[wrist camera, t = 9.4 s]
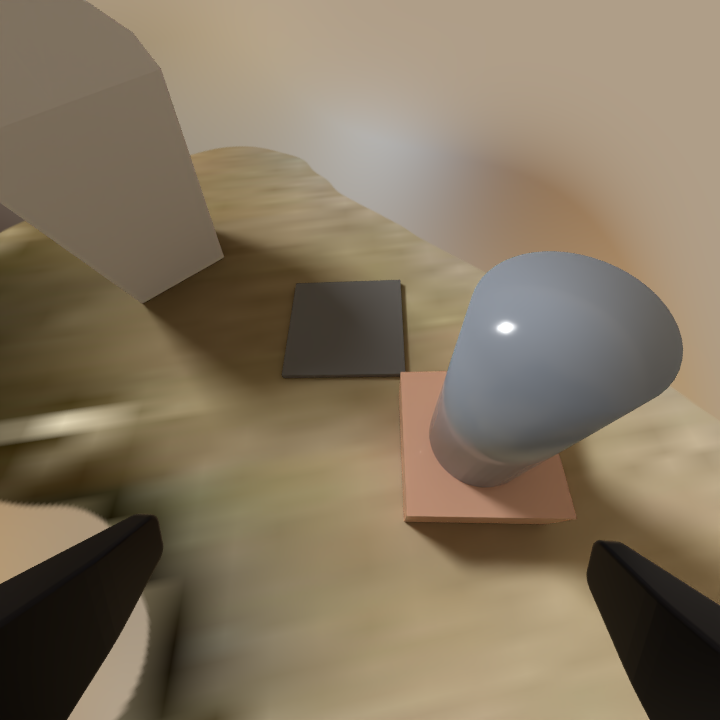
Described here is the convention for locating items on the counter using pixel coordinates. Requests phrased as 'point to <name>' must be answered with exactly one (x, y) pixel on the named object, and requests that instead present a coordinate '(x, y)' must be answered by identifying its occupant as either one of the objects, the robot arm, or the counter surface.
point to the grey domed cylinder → (548, 363)
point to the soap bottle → (98, 147)
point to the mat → (345, 330)
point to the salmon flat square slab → (460, 500)
